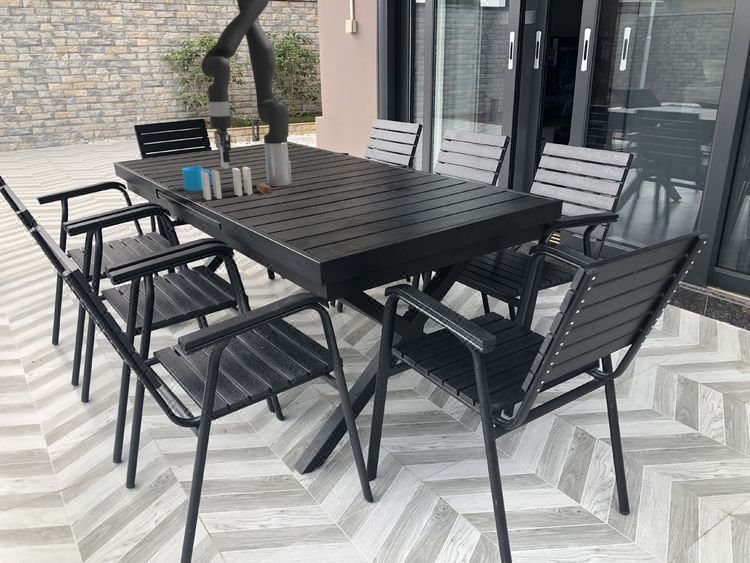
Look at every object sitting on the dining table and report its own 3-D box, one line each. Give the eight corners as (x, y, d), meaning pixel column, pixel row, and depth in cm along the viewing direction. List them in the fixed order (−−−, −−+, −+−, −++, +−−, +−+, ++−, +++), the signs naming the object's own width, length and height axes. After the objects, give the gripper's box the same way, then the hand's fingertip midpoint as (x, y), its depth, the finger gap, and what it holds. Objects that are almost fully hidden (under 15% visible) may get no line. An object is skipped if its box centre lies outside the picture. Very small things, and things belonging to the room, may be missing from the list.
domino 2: (218, 195, 236) (215, 169, 232) (221, 198, 232) (219, 171, 228) (214, 196, 235) (211, 170, 231) (217, 198, 231) (214, 172, 227)
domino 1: (207, 197, 234) (205, 170, 230) (211, 199, 230) (208, 172, 226) (203, 197, 233) (200, 171, 230) (207, 200, 229) (203, 173, 226)
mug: (186, 191, 244) (183, 171, 241) (182, 188, 251) (180, 168, 248) (216, 188, 249) (214, 168, 246) (212, 184, 256) (210, 165, 253)
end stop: (264, 189, 246) (263, 183, 245) (271, 193, 238) (271, 186, 237) (256, 190, 244) (256, 183, 243) (264, 194, 237) (263, 187, 236)
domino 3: (225, 166, 233) (222, 139, 230) (229, 168, 229) (226, 141, 226) (221, 166, 233) (218, 139, 229) (224, 168, 229) (222, 141, 225)
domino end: (248, 192, 241) (246, 166, 237) (252, 194, 237) (250, 168, 233) (244, 192, 240) (242, 167, 237) (248, 195, 236) (246, 169, 233)
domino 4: (238, 193, 239) (236, 167, 236) (242, 195, 235) (240, 169, 232) (234, 193, 238) (232, 168, 235) (238, 196, 234) (235, 170, 231)
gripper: (235, 115, 220) (239, 163, 226) (225, 112, 232) (229, 157, 238) (214, 116, 217) (219, 164, 223) (205, 113, 229) (209, 159, 235)
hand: (224, 160), depth 230 cm, fingers closed on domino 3, 5 cm apart
